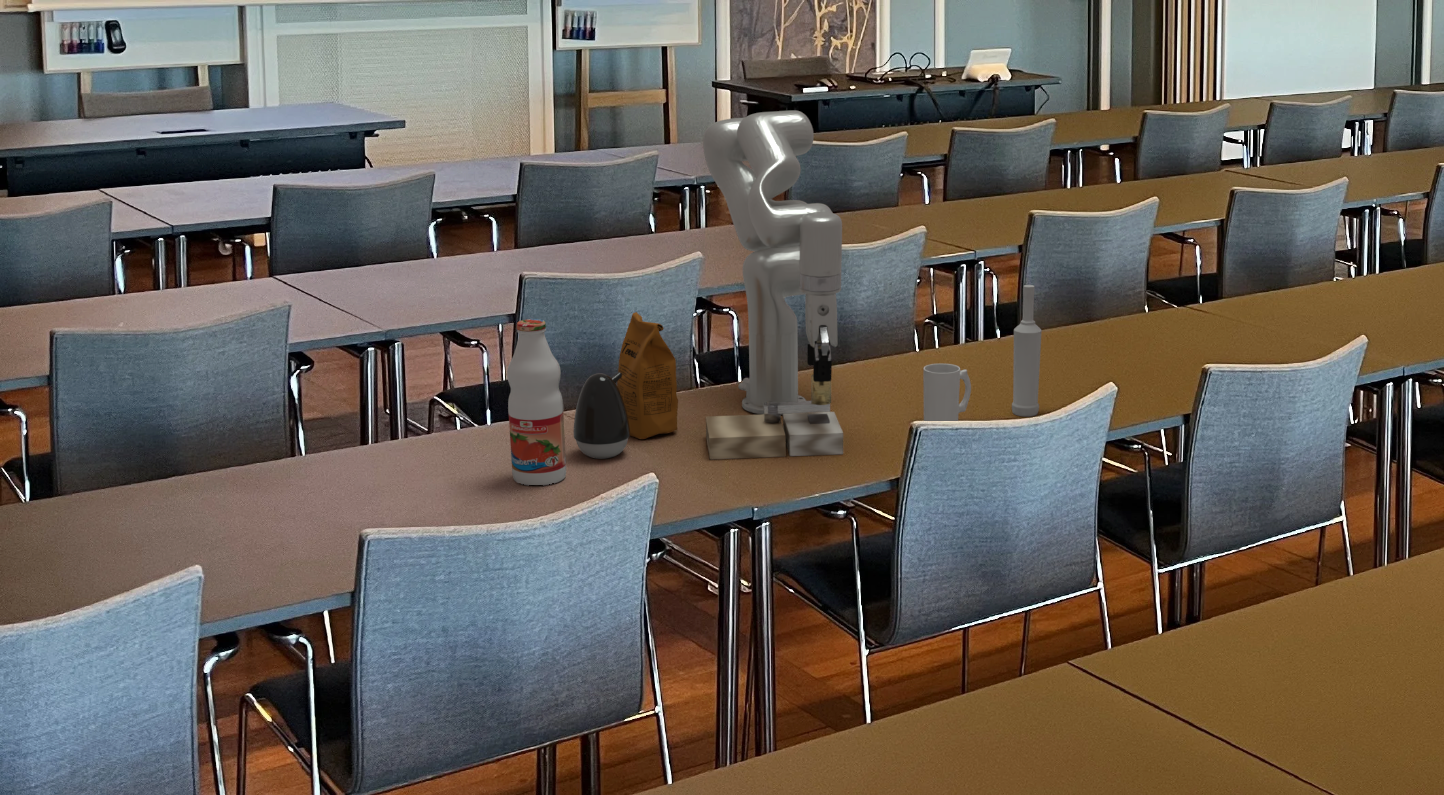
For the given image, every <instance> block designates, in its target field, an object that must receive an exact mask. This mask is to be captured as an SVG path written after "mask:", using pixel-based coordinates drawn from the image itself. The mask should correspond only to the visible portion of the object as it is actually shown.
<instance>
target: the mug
mask: <svg viewBox="0 0 1444 795" xmlns="http://www.w3.org/2000/svg"><path fill="white" fill-rule="evenodd" d="M922 376H923V377H922V378H923V383H922V384H923V422H924V421H958V422H959V414H960V413H964V412H966V410H967V407H968V404H969V400H970V398H971V393H972V384H971V379H970V377H969V374H968V369H962V370H961V368H960V366H959V365H956V364H952V363H931V364H927V365H924V367H923V375H922ZM961 380H962V381H963V384H964V389H965V390H964V395H963V398H962V400H961V402H960V385H961ZM959 402H960V403H959Z"/></svg>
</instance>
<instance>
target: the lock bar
mask: <svg viewBox="0 0 1444 795" xmlns="http://www.w3.org/2000/svg"><path fill="white" fill-rule="evenodd" d="M810 377H811V379H810V380H811V381H810V382H811V384H810V386H811V388H810V389H811V391H810V393H811V394H810V395H811V399H810V400H806V401H787V402H764V421H765V422H767V423H778V422H780V421H781V422H782V418H781V413H815V412H831V403H832V380H831V381H826V382H815V381H814V380H813V374H811V375H810Z"/></svg>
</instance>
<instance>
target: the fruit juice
mask: <svg viewBox="0 0 1444 795" xmlns="http://www.w3.org/2000/svg"><path fill="white" fill-rule="evenodd" d="M546 324H547V323H546V321H545V320H543V319H540V318H539V319H538V318H527V319H522V320H519V321H518V322H516V330H517V331H516V333H518V338H517V342H516V346H515V350H514V352H513V356H512V357H511V360H510V362H509V364H508V366H507V371H506V375H507V380H508V384H509V387H510V393H509V396H508V400H507V401H508V402H507V403H508V404H507V405H508V407H507V409H508V410H507V411H508V423H509V425H508V426H509V442H510V456H511V458H510V459H511V460H510V461H511V473H512V478H513V480H514V482H515V483H517V484H519V483H521V484H520V485H523V484H524V486H529V485H543V486H549V484H550V485H553V484H552V483H554V484H556V483H559V482H561V481H563V480H564V479H565V478H566V474H567V457H566V456H567V455H566V441H565V440H566V437H565V416H564V401H563V396H562V393H561V391H560V389H559V385H560V382H561V381H560V380H561V375H562V374H561V367H560V364H559V362H558V360H557V359H556V358H555V356H554V355H553V353H552V351H551V348H550V346H549V343H548V340H547V338H546V335H545V333H546V331H547V325H546Z"/></svg>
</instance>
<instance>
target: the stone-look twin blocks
mask: <svg viewBox="0 0 1444 795" xmlns="http://www.w3.org/2000/svg"><path fill="white" fill-rule="evenodd" d="M843 431H844V430H843V429H842V427H841V425H840V422H839V420H838V418H837V415H836V412H835V411H830V412H807V413H788V414H782V420H781V421H780V422H778V423H767V422H765V421H764V414H742V415H741V414H740V415H739V414H738V415H737V414H736V415H717V416H715V415H714V416H713V415H712V416H705V439H706V444H707V450H708V455H709V460H726V459H729V460H730V459H732V460H733V459H751V458H752V459H753V458H754V459H755V458H779V457H781V458H782V457H783V458H784V457H786V456H787V455H786V454H787V453H786V452H788V454H789V457H797V456H798V457H802V456H803V457H804V456H807V457H808V456H827V455H828V456H829V455H831V456H832V455H833V456H834V455H843V454H844V432H843ZM786 449H787V450H786Z"/></svg>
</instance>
